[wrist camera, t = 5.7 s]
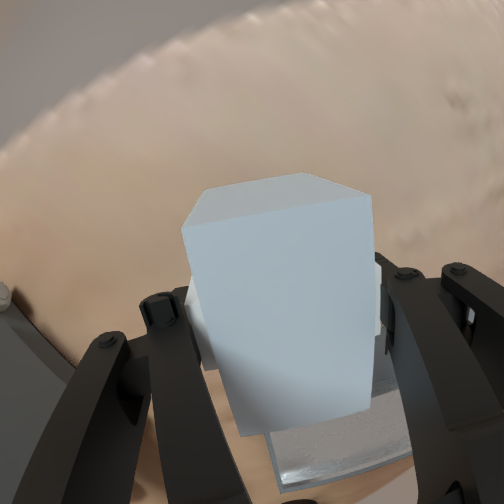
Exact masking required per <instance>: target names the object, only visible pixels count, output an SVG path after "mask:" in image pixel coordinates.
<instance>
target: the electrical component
mask: <svg viewBox="0 0 504 504" xmlns="http://www.w3.org/2000/svg"><path fill="white" fill-rule="evenodd" d="M75 370H76V369H75V368H74V367H73V366H72V365H71V364H70V363H68V362H67V361H66V360H65V359H64V358H63V357H62V356H61V355H60V354H59V353H58V352H57V351H56V350H55V349H54V348H53V347H52V346H51V345H50V344H49V343H48V341H47V340H46V339H45V338H44V337H43V336H42V335H41V334H40V333H39V332H38V331H37V330H36V329H35V327H34V326H33V325H32V324H31V323H30V322H29V321H28V320H27V318H26V317H25V316H24V315H23V314H22V313H21V311H20V310H19V309H18V308H17V307H16V306H15V304H14V303H13V302H12V301H11V292H10V290H9V289H8V287H7V286H6V285H5V284H4V283H3V282H0V504H12V501H13V499H14V496H15V494H16V491H17V489H18V486H19V484H20V481H21V479H22V477H23V474H24V472H25V470H26V467H27V465H28V463H29V461H30V459H31V456H32V454H33V452H34V450H35V448H36V446H37V443H38V441H39V439H40V437H41V435H42V433H43V431H44V429H45V427H46V425H47V423H48V421H49V419H50V417H51V415H52V413H53V411H54V409H55V407H56V405H57V403H58V401H59V399H60V398H61V396H62V394H63V392H64V390H65V388H66V386H67V385H68V383H69V381H70V379H71V377H72V376H73V374H74V372H75Z"/></svg>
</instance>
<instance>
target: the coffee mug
mask: <svg viewBox="0 0 504 504" xmlns="http://www.w3.org/2000/svg"><path fill="white" fill-rule="evenodd" d="M282 504H317V503H316V502H315V501H313V500H307V499H303V500H294V501H289V502H285V503H282Z"/></svg>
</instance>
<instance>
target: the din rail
mask: <svg viewBox="0 0 504 504" xmlns="http://www.w3.org/2000/svg"><path fill="white" fill-rule="evenodd" d="M270 436H271V440H272V444H273V448H274V453H275V457H276V461H277V465H278V469H279V473H280V477H281V482H282V487H283V489H285V488H290V487H295V486H300V485H305V484H309V483H313V482H317V481H321V480H325V479H329V478H333V477H337V476H340V475H344V474H347V473H350V472H354V471H357V470H360V469H363V468H366V467H369V466H372V465H375V464H378V463H381V462H384V461H386V460H389V459H392V458H394V457H397V456H399V455H402V454H404V453H407V452H409V451H412V447H411V442H410V437H409V432H408V427H407V422H406V417H405V413H404V408H403V404H402V399H401V395H400V391H399V387H398V383H397V379H396V375H395V376H392V377H389V378H386V379H383V380H380V381H377V382H374V383H372V391H371V402H370V409H367V410H364V411H360V412H357V413H353V414H350V415H346V416H343V417H339V418H335V419H331V420H327V421H323V422H319V423H315V424H310V425H306V426H301V427H296V428H291V429H286V430H281V431H276V432H270Z"/></svg>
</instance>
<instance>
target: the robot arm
mask: <svg viewBox="0 0 504 504" xmlns="http://www.w3.org/2000/svg"><path fill="white" fill-rule="evenodd" d="M139 308H140V311H141V314H142V316H143V319H144V322H145V325H146V327H147V334H146V335H144V336H141V337H138V338H135V339H132V340H129V341H127V339H126V336H125V335H124V333H123V332H120V331H112V332H105V333H104V334H101V335H99V336H98V337H97V338H96V339H94V340H93V342H92V343H91V344H90V346H89V348H88V349H87V351H86V353H85V354H84V356H83V358H82V360H81V361H80V363H79V365H78V367H77V368H76V370H75V372H74V374H73V376H72V377H71V379H70V381H69V383H68V385H67V386H66V388H65V390H64V392H63V394H62V396H61V398H60V399H59V401H58V403H57V405H56V407H55V409H54V411H53V413H52V415H51V417H50V419H49V421H48V423H47V425H46V427H45V429H44V431H43V433H42V435H41V437H40V439H39V441H38V443H37V446H36V448H35V450H34V452H33V454H32V456H31V459H30V461H29V463H28V465H27V467H26V470H25V472H24V474H23V477H22V479H21V481H20V484H19V486H18V489H17V491H16V494H15V496H14V499H13V501H12V504H129V503H130V497H131V491H132V486H133V481H134V475H135V470H136V465H137V460H138V455H139V450H140V445H141V441H142V436H143V431H144V427H145V422H146V418H147V414H148V409H149V405H150V401H151V393H152V402H153V411H154V419H155V427H156V434H157V441H158V448H159V454H160V460H161V466H162V472H163V478H164V483H165V488H166V493H167V498H168V504H252V501H251V499H250V497H249V494H248V492H247V490H246V488H245V485H244V483H243V480H242V478H241V476H240V473H239V471H238V468H237V466H236V464H235V461H234V459H233V456H232V454H231V451H230V448H229V446H228V443H227V441H226V438H225V436H224V433H223V430H222V428H221V425H220V422H219V419H218V417H217V414H216V411H215V408H214V406H213V403H212V400H211V397H210V394H209V391H208V388H207V386H206V383H205V380H204V377H203V374H202V371H201V368H200V365H201V361H202V364H203V367H204V370H205V371H208V370H215V369H218V366H217V362H216V359H215V356H214V352H213V349H212V345H211V342H210V339H209V335H208V332H207V328H206V325H205V321H204V317H203V314H202V310H201V306H200V303H199V299H198V295H197V291H196V288H195V284H194V280H193V276H192V277H191V281H190V285H189V286H185V287H179V288H175V289H174V290H173V291H172V292H161V293H157V294H154V295H151V296H149V297H147V298H145V299H144V300H143V301H142V302H141V303H140V305H139ZM470 308H471V309H472V310H473V311H474V313H475V315H474V321H473V323H471V322H470V321H469V320H468V318H469V312H470ZM381 321H382V323H383V324H384V325H385V326H386V341H385V355H387V354H388V350H389V352H390V356H391V360H392V363H393V367H394V371H395V375H396V379H397V383H398V387H399V391H400V395H401V399H402V404H403V408H404V413H405V417H406V422H407V427H408V432H409V437H410V442H411V447H412V453H413V458H414V464H415V470H416V477H417V483H418V502H417V504H504V287H503V286H501V285H500V284H498V283H496V282H495V281H493V280H492V279H490V278H489V277H487V276H485V275H484V274H482V273H481V272H479V271H477V270H476V269H474V268H473V267H471V266H469V265H466V264H462V263H459V262H458V263H457V262H454V263H451V264H447V265H445V266H444V267H443V268H442V274H441V278H428V279H426V278H425V276H424V275H423V274H422V272H420V271H419V270H417V269H414V268H408V267H405V268H398V267H397V266H395V265H394V264H393V263H392V262H389V260H388V259H386V258H385V257H384V256H382V255H381V254H380V253H377V252H375V336H376V335H380V332H381Z"/></svg>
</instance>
